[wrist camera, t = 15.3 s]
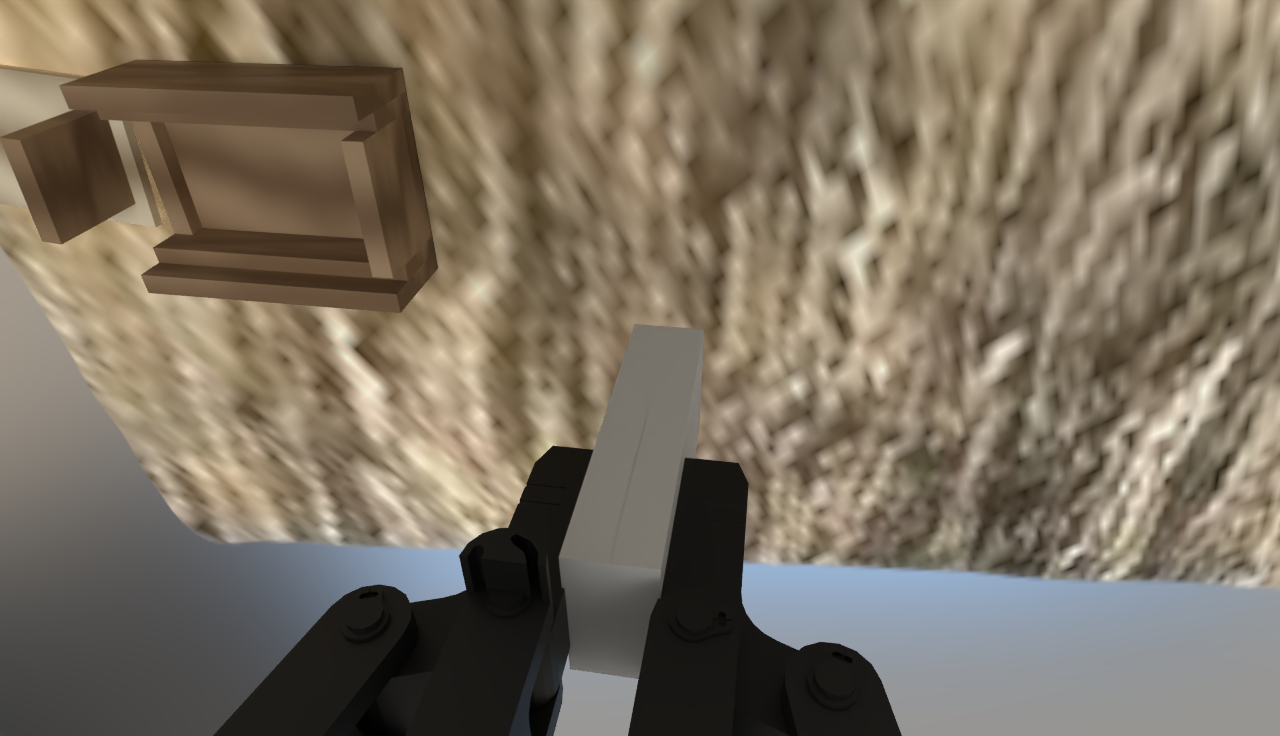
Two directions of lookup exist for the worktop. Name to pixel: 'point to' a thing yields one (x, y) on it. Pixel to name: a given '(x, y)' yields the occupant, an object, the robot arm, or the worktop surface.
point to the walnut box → (277, 179)
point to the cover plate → (67, 159)
